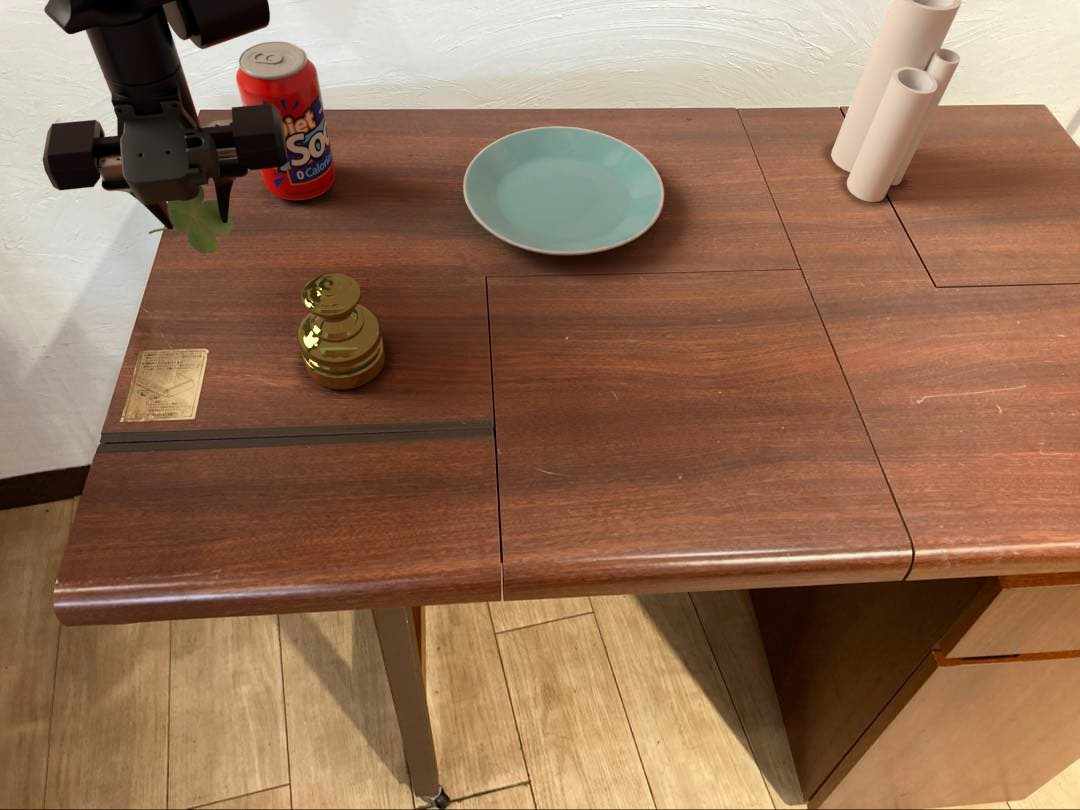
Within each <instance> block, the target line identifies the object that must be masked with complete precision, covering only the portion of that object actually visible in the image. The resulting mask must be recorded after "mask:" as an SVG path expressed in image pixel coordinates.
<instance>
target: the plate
mask: <svg viewBox="0 0 1080 810" xmlns="http://www.w3.org/2000/svg"><path fill="white" fill-rule="evenodd" d="M664 187H665V186H664V183H663V180H662V177H661V176H660V174H659V171H658V170H657V168H656V167H655V165H654V164H653V163H652V162H651V161H650V160H649V159H648V158H647V157H646V155H645V154H643V153H642V152H641V151H640V150H638V149H636V148H635V147H634V146H633V145H630V144H628V143H626V142H625V141H623V140H621V139H619V138H616V137H613V136H611V135H609V134H606V133H602V132H601V131H596V130H592V129H587V128H583V127H577V126H561V125H558V126H555V125H554V126H553V125H549V126H540V127H539V126H538V127H533V128H528V129H523V130H519V131H516V132H513V133H510V134H507V135H505V136H503V137H501V138H499V139H497V140H495V141H493V142H492V143H490V144H488V145H487V146H485V147H484V148H483V149H481V150H480V151H479V152H478V153H477V154H476V155H475V156H474V157H473V159H472V160H471V162H470V163H469V164H468V166H467V169H466V170H465V173H464V177H463V183H462V192H463V197H464V201H465V204H466V206H467V208H468V210H469V212H470V214H471V216H473V218H474V219H475V220H476V222H477V223H478V224H479V225H480V226H481V227H482V228H483V229H484V230H486V231H487V232H488V233H490V234H491V235H492V236H494V237H495V238H497V239H499V240H500V241H502V242H504V243H506V244H509V245H510V246H513V247H516V248H519V249H522V250H525V251H529V252H532V253H537V254H543V255H549V256H581V255H582V256H583V255H591V254H596V253H601V252H605V251H609V250H613V249H615V248H619V247H621V246H624V245H626V244H629V243H631V242H632V241H634V240H636V239H638V238H639V237H641V236H642V235H644V234H645V233H646V232H647V231H649V230H650V229H651V228H652V227H653V225H654V224H655V223H656V221H657V220H658V218H659V217H660V215H661V213H662V211H663V207H664V203H665V188H664Z"/></svg>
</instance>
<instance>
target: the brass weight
mask: <svg viewBox="0 0 1080 810" xmlns="http://www.w3.org/2000/svg"><path fill="white" fill-rule="evenodd" d="M300 296H301V297H300V298H301V299H300V300H301V304H302V305H303V307H304V309H305V310H306V311H308V312H306V314H305V315H304V316H303V317H302V319H301V320H300V322H299V324H298V327H297V329H296V330H297V331H296V339H297V340H296V341H297V343H298V346H299V348H300V349H301V350H300V352H301V353H300V354H301V357H302V360H303V362H304V366H305V368H306V371H307V373H308V375H309V377H310V378H311V379H312V380H313V381H314V382H316V383H317V384H319V385H321V386H323V387H326V388H328V389H333V390H350V389H351V390H352V389H356V388H359V387H361V386H363V385H366V384H368V383H369V382H371V381H372V380H373V379H375V378H376V377H377V376H378V374H380V372H381V371H382V369H383V367H384V364H385V360H386V354H385V347H384V345H385V343H384V342H385V341H384V337H383V334H382V325H381V320H380V319H379V317H378V316H377V314H376V313H375V312H374V311H373V310H372V309H371V308H370V307H368V306H367V305H365V304H362V303H360V301H361V299H362V290H361V287H360V285H359V283H358V282H357V280H356V279H355V278H353V277H351V276H350V275H348V274H346V273H345V274H344V273H340V272H327V273H322V274H319V275H316V276H314V277H313V278H311V279H310V280H309V281H307V282H306V283H305V284H304V286H303V288H302V290H301V293H300Z"/></svg>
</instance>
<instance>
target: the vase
mask: <svg viewBox="0 0 1080 810" xmlns="http://www.w3.org/2000/svg"><path fill="white" fill-rule="evenodd" d="M962 1H963V0H890V2H889V5H888V7H887V10H886V12H885V15H884V18H883V20H882V23H881V26H880V28H879V31H878V33H877V35H876V38H875V40H874V42H873V45H872V48H871V50H870V53H869V56H868V59H867V61H866V64H865V66H864V68H863V70H862V74H861V76H860V78H859V81H858V83H857V85H856V89H855V90H854V93H853V96H852V99H851V101H850V104H849V106H848V109H847V112H846V115H845V117H844V119H843V122H842V124H841V126H840V130H839V131H838V134H837V136H836V138H835V142H834V145H833V147H832V150H831V154H830V156H831V159H832V161H833V163H834V164H835V165H836V166H837V167H838V168H840V169H841V170H844V171H846V172H847V173H849V175H848V178H847V180H846V187H847V190H848V191H849V192H850V194H852V195H853V196H854V197H855V198H857V199H859V200H861V201H865V202H867V203H876V202H877V203H878V202H880V201H882V200H884V198H885V197H886V196H887V194H888V191H889V189H890V187H891V186H897V185H899V184H900V183H901V182H902V180H903V178H904V176H905V174H906V171H907V170H908V167H909V166H910V165H911V164H910V163H911V161H912V160H913V158H914V156H915V153H916V151H917V149H918V147H919V146H920V143H921V141H922V139H923V137H924V136H925V133H926V131H927V129H928V127H929V125H930V123H931V121H932V119H933V116H934V114H935V113H936V110H937V109H938V107H939V105H940V102H941V100H942V98H943V96H944V94H945V92H946V90H947V88H948V86H949V84H950V82H951V80H952V78H953V77H954V76H953V75H954V74H955V72H956V70H957V68H958V66H959V64H960V62H961V57H960V55H959V54H958V53H956V52H955V51H953V50H951V49H948V48H942V45H943V44H944V42H945V39H946V37H947V35H948V33H949V30H950V28H951V26H952V24H953V22H954V20H955V18H956V15H957V13H958V11H959V9H960V7H961V5H962Z"/></svg>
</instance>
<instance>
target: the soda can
mask: <svg viewBox="0 0 1080 810" xmlns="http://www.w3.org/2000/svg"><path fill="white" fill-rule="evenodd" d="M238 65H239V66H238V69H237V71H236V74H235V81H236V85H237V89H238V93H239V96H240V99H241V103H242V106H252V105H263V104H273V105H274V106H275V107H276V108H277V109H279V110H280V112H281V117H282V121H283V126H284V132H285V141H286V149H287V158H288V163H286V164H285V165H284V166H282V167H277V168H268V169H259V171H260V174H261V177H262V181H263V185H264V187H265V188H266V189H267V191H268V192H269V193H270V194H272V195H274V196H275V197H277V198H280V199H282V200H283V199H284V200H289V201H306V200H310V199H313V198H316V197H319V196H320V195H323V194H324V193H326V192H327V191H328V190H329V189H330V188H332V186H333V184H334V182H335V181H336V167H335V162H334V156H333V152H332V146H331V140H330V135H329V129H328V123H327V117H326V112H325V107H324V103H323V102H324V101H323V95H322V91H321V86H320V80H319V75H318V70H317V68H316V66H315V64H314V63H313V62H312V61H311V60H310V59H309V58H308V54H307V53H306V51H305V49H303V48H302V47H300V46H299V45H297V44H295V43H291V42H289V41H265V42H261V43H257V44H255V45H252V46H250V47H248V48H246V49H245V50H244V51H243V52H242V53H241V54H240V56H239V59H238Z"/></svg>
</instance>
